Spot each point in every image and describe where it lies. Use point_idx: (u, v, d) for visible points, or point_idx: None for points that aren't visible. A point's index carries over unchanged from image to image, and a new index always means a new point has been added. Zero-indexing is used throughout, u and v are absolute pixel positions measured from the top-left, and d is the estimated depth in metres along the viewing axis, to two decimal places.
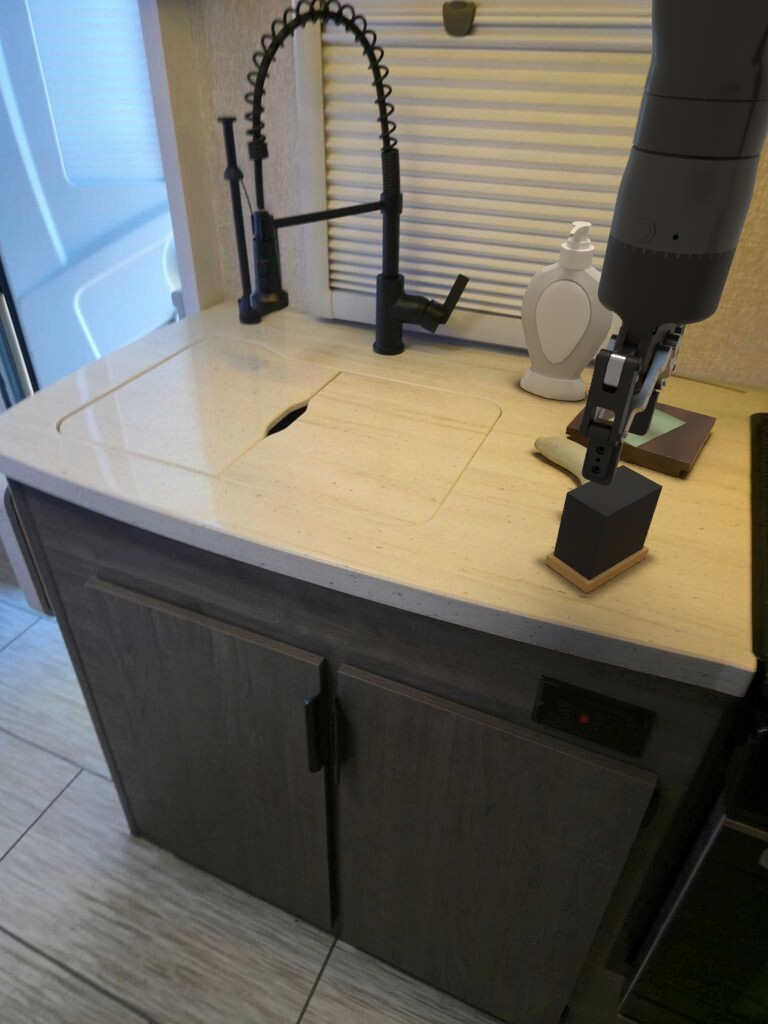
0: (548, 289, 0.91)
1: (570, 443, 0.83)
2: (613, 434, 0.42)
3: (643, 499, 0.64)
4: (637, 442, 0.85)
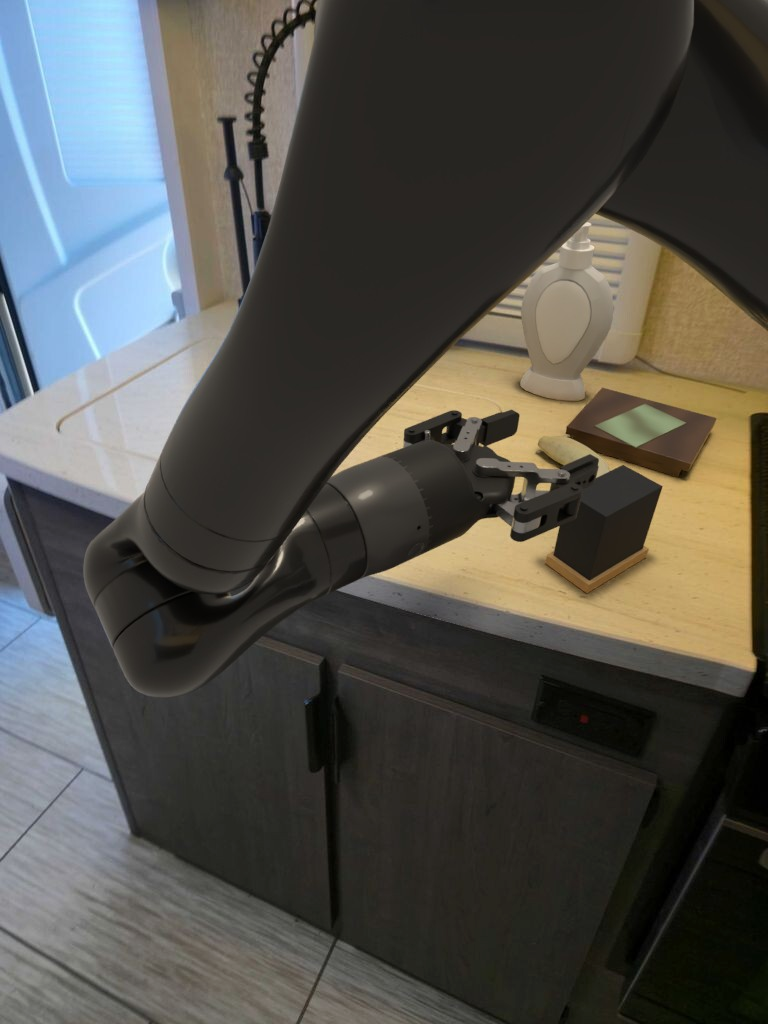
0: (548, 289, 0.91)
1: (573, 443, 0.83)
2: (576, 496, 0.46)
3: (643, 499, 0.64)
4: (637, 442, 0.85)
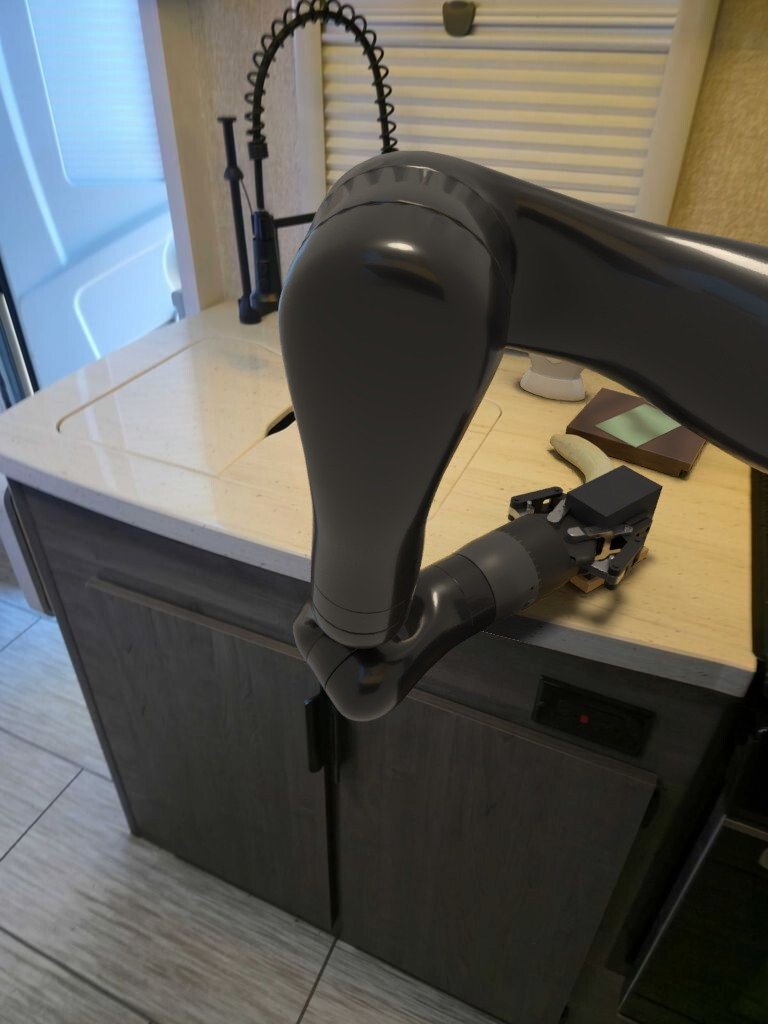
0: None
1: (583, 442, 0.83)
2: (641, 546, 0.61)
3: (643, 499, 0.64)
4: (637, 442, 0.85)
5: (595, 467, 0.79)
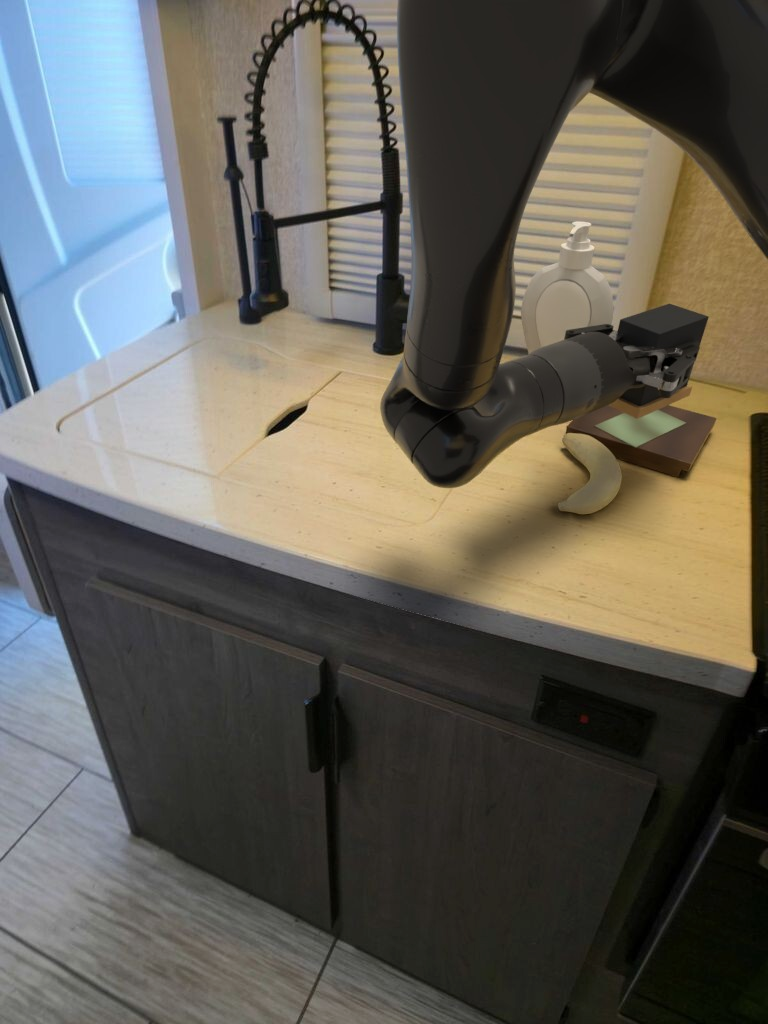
0: (548, 289, 0.91)
1: (594, 442, 0.83)
2: (692, 362, 0.66)
3: (691, 326, 0.69)
4: (637, 442, 0.85)
5: (600, 467, 0.79)
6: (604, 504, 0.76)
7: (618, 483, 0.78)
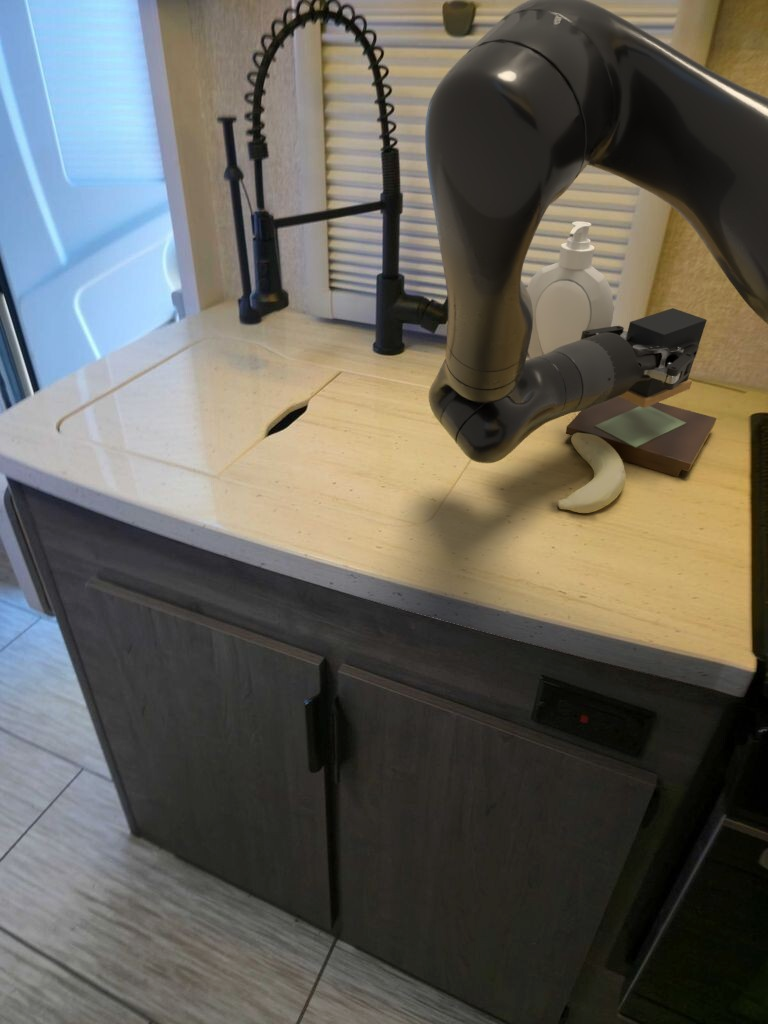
0: (548, 289, 0.91)
1: (601, 442, 0.83)
2: (691, 359, 0.76)
3: (692, 327, 0.79)
4: (637, 442, 0.85)
5: (603, 467, 0.79)
6: (604, 504, 0.76)
7: (620, 484, 0.77)
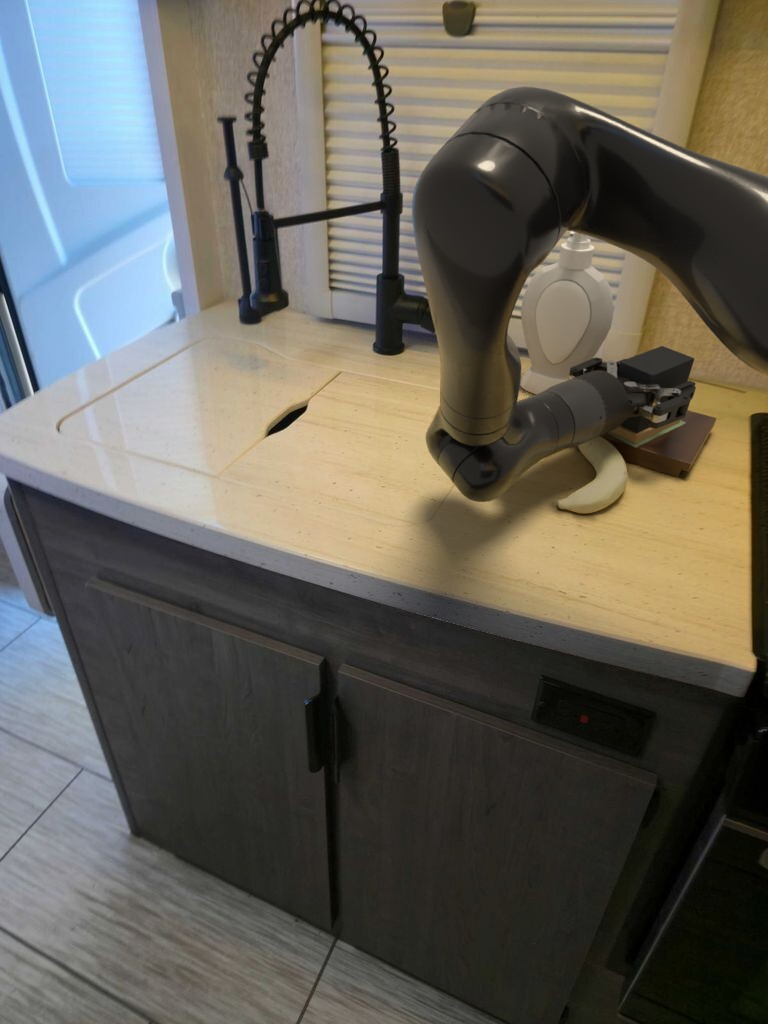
0: (548, 289, 0.91)
1: (605, 443, 0.83)
2: (687, 402, 0.78)
3: (680, 366, 0.82)
4: None
5: (605, 468, 0.79)
6: (604, 505, 0.76)
7: (621, 485, 0.77)
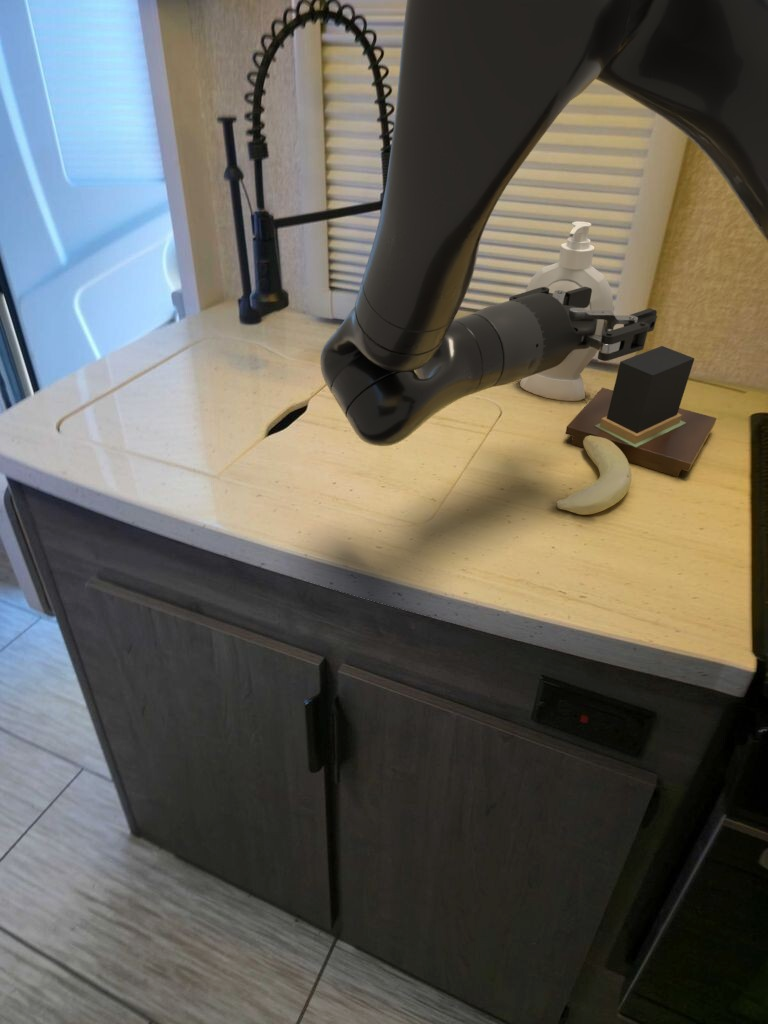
0: None
1: (611, 446, 0.83)
2: (644, 329, 0.64)
3: (680, 366, 0.82)
4: None
5: (608, 470, 0.79)
6: (603, 507, 0.76)
7: (623, 488, 0.77)
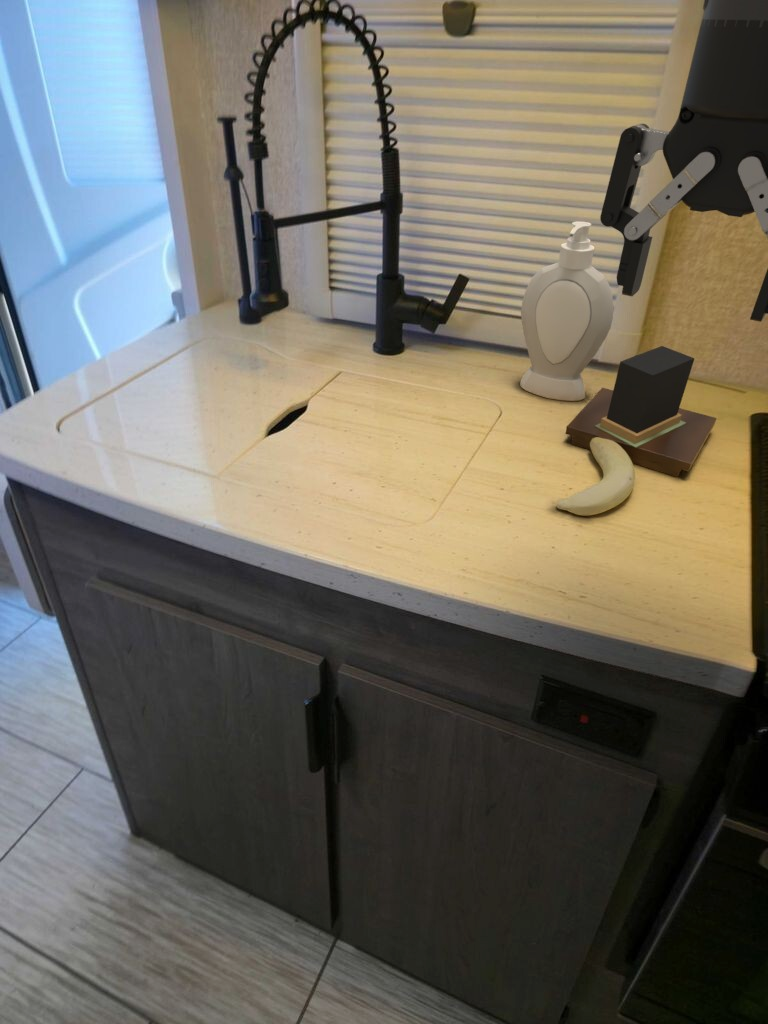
0: (548, 289, 0.91)
1: (616, 448, 0.82)
2: None
3: (680, 366, 0.82)
4: None
5: (611, 472, 0.78)
6: (603, 508, 0.76)
7: (624, 490, 0.76)
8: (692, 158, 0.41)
